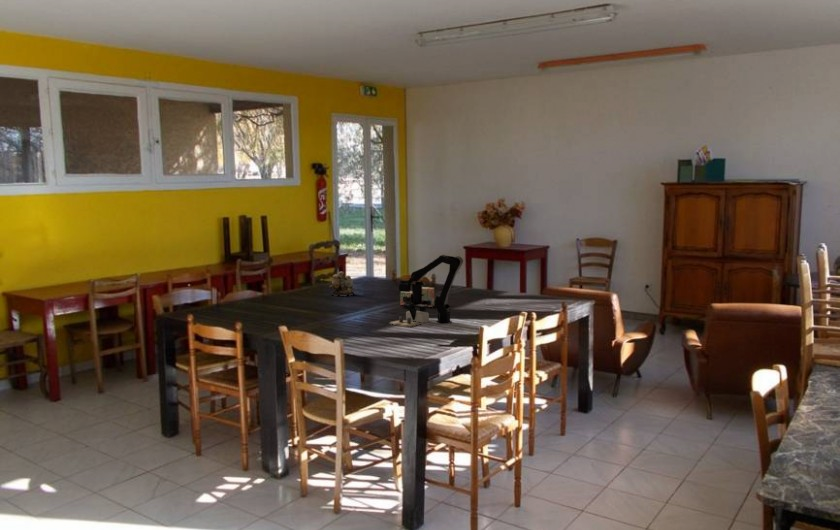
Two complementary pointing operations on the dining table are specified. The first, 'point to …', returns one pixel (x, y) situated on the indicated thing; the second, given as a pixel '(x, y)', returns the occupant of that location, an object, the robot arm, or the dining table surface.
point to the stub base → (404, 322)
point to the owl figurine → (342, 284)
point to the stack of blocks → (427, 293)
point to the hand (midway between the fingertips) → (417, 319)
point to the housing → (418, 316)
